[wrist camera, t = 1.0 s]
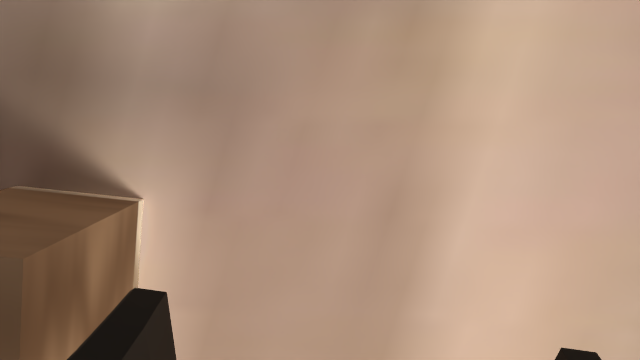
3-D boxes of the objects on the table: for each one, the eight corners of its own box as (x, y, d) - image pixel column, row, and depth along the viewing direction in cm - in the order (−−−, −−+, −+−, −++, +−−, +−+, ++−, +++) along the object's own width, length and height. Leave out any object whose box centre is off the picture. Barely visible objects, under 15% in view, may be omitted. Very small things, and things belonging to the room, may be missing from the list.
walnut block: (135, 320, 23) (15, 453, 14) (13, 307, 23) (-185, 432, 14) (143, 199, 23) (23, 259, 14) (17, 185, 23) (-187, 237, 14)
